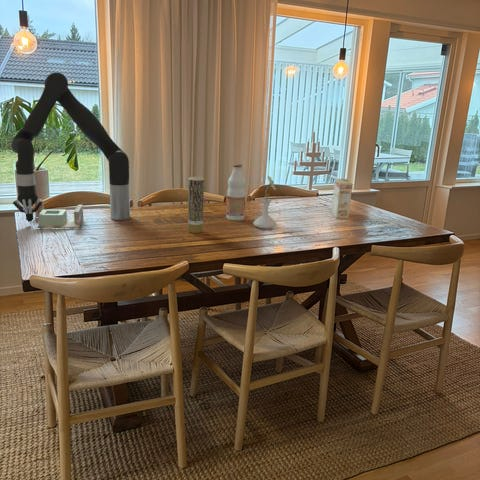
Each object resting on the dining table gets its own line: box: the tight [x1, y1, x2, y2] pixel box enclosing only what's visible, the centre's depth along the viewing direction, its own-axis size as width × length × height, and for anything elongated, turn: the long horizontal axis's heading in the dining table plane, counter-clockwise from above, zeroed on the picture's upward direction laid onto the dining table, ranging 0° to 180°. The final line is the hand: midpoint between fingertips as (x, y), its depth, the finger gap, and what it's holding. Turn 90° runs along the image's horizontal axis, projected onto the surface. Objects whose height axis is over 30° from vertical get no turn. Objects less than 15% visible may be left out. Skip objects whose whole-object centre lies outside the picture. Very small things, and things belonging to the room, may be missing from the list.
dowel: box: [34, 198, 45, 218], centre depth 222 cm, size 4×4×8 cm
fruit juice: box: [225, 163, 247, 221], centre depth 234 cm, size 9×9×28 cm
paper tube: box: [187, 176, 205, 234], centre depth 208 cm, size 7×7×25 cm
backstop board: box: [36, 204, 84, 230], centre depth 211 cm, size 18×14×8 cm
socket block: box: [37, 208, 68, 226], centre depth 210 cm, size 10×10×5 cm
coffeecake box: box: [331, 178, 354, 220], centre depth 251 cm, size 15×7×20 cm, turn 179°
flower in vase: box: [253, 175, 277, 229], centre depth 222 cm, size 13×11×25 cm
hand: (30, 221), depth 209 cm, fingers closed
